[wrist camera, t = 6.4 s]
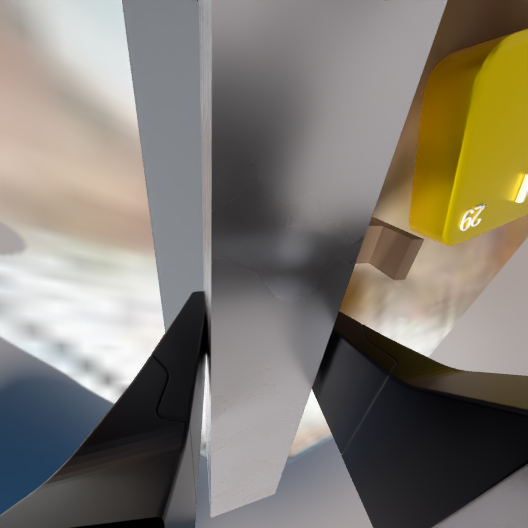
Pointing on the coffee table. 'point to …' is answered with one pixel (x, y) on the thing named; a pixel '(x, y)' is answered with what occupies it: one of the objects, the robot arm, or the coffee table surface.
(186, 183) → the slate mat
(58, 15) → the coffee table surface
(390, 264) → the hook posts
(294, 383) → the steel rail
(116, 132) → the coffee table surface
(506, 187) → the element tile
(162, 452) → the robot arm
